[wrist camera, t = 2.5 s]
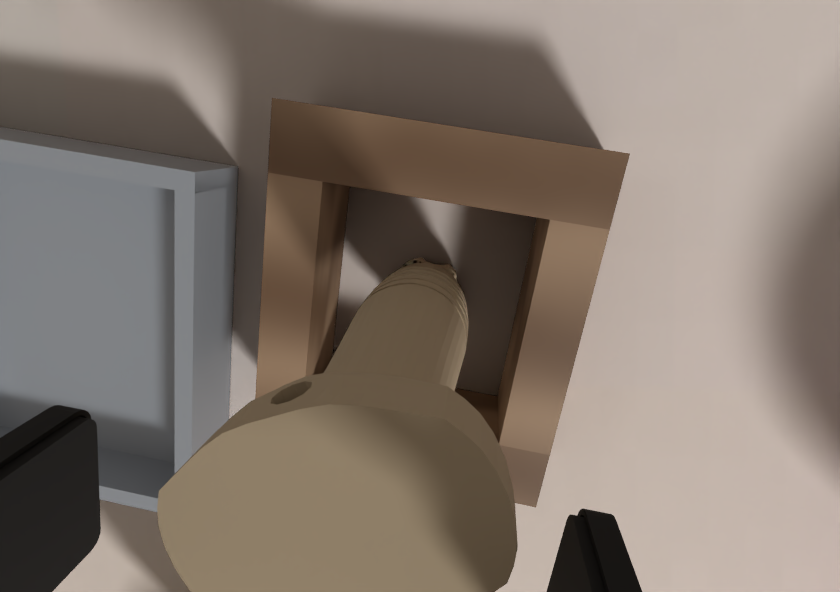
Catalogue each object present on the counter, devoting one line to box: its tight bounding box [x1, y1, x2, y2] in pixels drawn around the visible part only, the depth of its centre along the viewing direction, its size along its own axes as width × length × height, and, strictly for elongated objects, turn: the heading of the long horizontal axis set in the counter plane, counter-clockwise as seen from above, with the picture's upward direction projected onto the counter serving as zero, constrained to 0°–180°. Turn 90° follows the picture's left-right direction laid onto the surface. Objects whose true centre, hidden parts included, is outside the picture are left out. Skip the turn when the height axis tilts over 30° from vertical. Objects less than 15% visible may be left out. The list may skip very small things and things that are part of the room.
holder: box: [255, 98, 630, 507], centre depth 21 cm, size 14×12×4 cm
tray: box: [0, 127, 238, 512], centre depth 24 cm, size 16×14×4 cm
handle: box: [157, 258, 517, 592], centre depth 16 cm, size 5×6×15 cm
